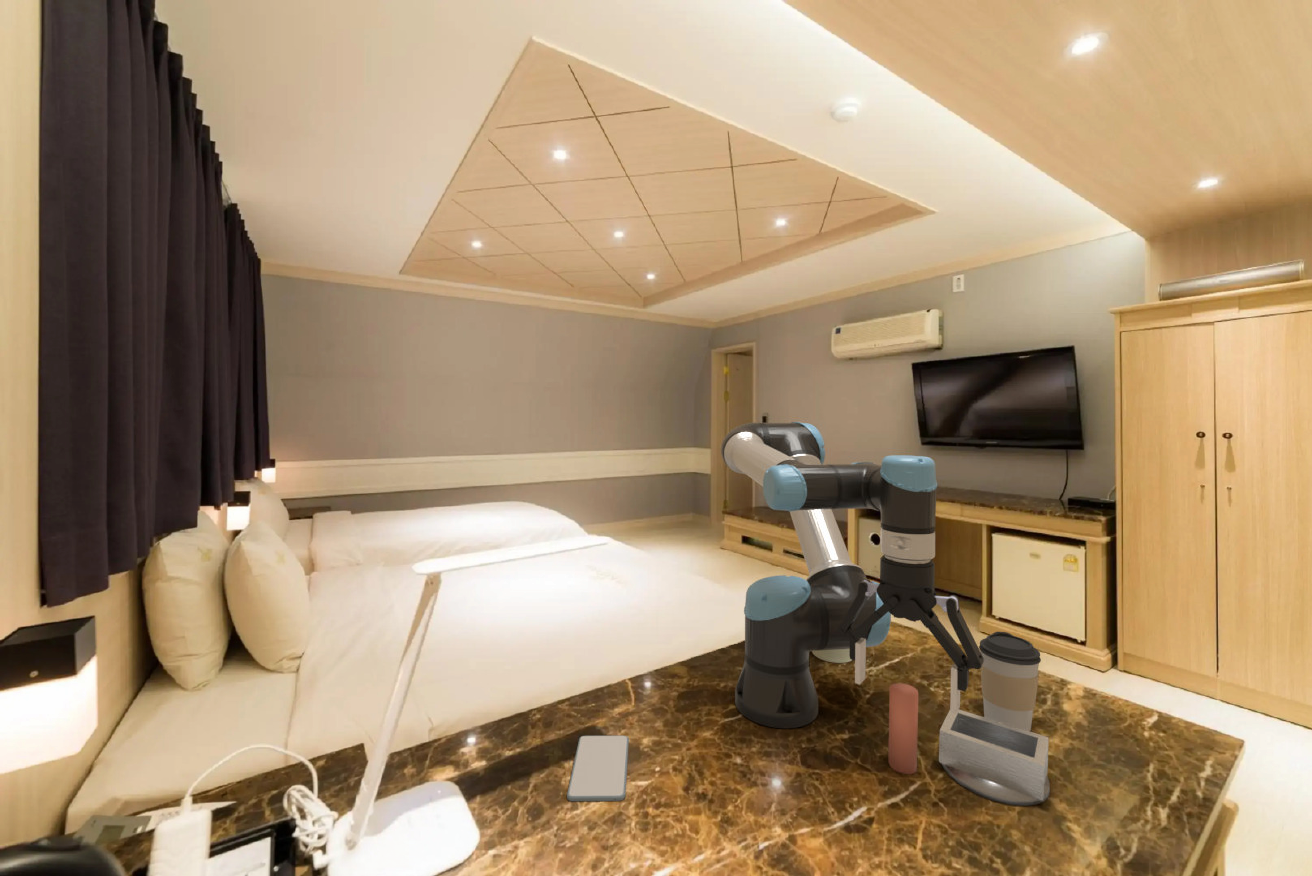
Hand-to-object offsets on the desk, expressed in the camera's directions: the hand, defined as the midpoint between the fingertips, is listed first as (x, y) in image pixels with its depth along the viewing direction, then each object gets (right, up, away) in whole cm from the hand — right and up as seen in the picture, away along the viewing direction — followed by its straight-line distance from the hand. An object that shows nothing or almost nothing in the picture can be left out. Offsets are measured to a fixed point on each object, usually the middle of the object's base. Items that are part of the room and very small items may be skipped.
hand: (905, 694), depth 82 cm
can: (+2, -10, +39) cm, 41 cm away
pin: (0, -11, +1) cm, 11 cm away
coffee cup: (+24, -11, +12) cm, 29 cm away
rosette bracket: (+13, -11, -1) cm, 17 cm away
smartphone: (-47, -12, +1) cm, 48 cm away
